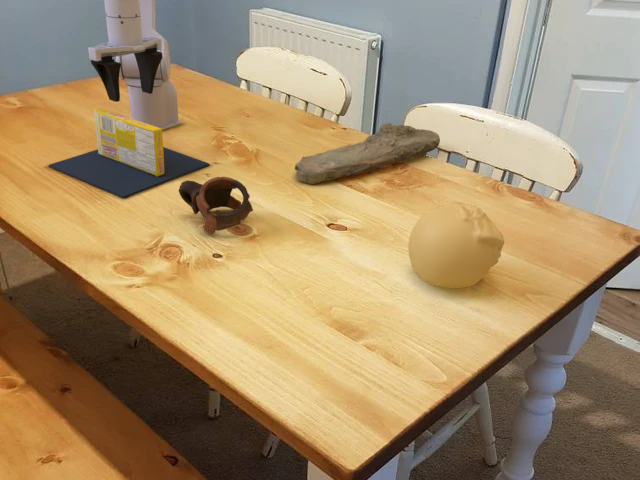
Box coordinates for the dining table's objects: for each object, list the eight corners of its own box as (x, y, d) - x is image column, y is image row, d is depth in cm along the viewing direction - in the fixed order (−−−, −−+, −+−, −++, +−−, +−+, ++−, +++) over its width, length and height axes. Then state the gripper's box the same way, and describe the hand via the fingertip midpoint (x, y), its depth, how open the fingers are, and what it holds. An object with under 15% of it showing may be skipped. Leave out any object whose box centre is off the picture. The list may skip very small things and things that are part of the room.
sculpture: (506, 293, 94) (522, 221, 88) (425, 303, 90) (436, 229, 84) (467, 253, 103) (480, 185, 97) (393, 261, 100) (401, 191, 93)
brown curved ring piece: (258, 213, 112) (262, 182, 104) (236, 259, 107) (240, 230, 100) (188, 186, 112) (188, 154, 104) (164, 231, 107) (162, 200, 100)
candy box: (166, 174, 121) (163, 127, 116) (157, 177, 120) (153, 130, 115) (106, 151, 129) (100, 107, 124) (97, 154, 127) (91, 109, 123)
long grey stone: (281, 179, 126) (315, 200, 120) (281, 152, 123) (316, 173, 117) (415, 135, 144) (450, 151, 138) (418, 110, 141) (454, 126, 135)
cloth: (136, 139, 136) (136, 137, 136) (209, 165, 126) (209, 163, 126) (48, 167, 122) (48, 164, 122) (123, 198, 113) (123, 196, 113)
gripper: (103, 23, 110) (113, 108, 118) (171, 14, 120) (176, 93, 128) (76, 17, 114) (87, 100, 121) (143, 8, 124) (150, 86, 131)
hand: (131, 96), depth 125 cm, fingers open, 7 cm apart
